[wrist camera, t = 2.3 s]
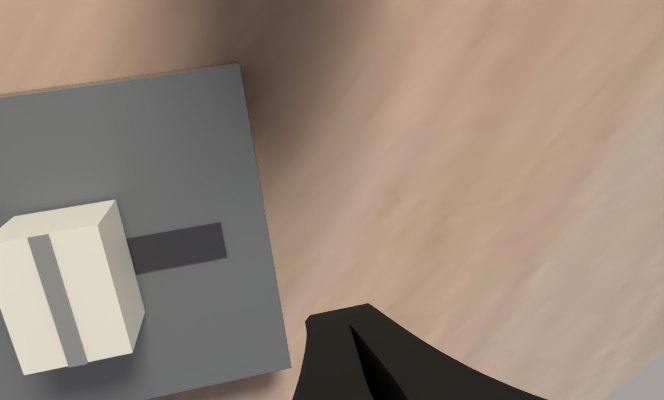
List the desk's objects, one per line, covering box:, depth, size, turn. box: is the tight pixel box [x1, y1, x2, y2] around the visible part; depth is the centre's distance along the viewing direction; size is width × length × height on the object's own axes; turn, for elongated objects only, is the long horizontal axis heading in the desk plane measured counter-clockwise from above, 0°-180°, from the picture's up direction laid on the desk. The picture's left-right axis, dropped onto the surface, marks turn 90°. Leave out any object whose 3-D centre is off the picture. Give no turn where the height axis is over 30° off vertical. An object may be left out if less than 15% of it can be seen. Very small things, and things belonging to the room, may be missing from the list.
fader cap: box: [0, 199, 145, 375], centre depth 16 cm, size 4×3×3 cm
